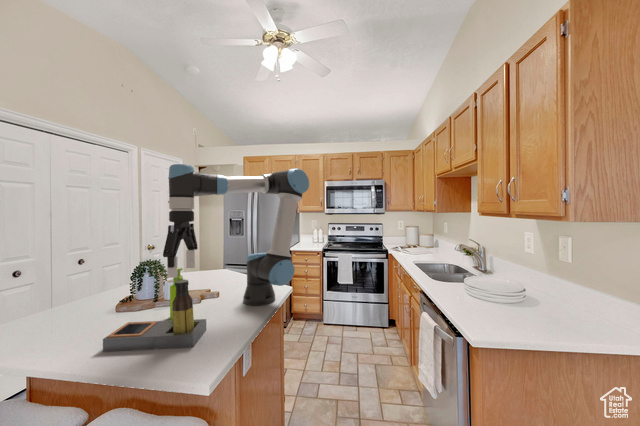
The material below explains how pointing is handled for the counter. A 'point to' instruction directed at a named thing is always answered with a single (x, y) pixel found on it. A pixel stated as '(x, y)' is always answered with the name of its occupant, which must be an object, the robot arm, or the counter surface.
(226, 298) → the counter surface
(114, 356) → the counter surface
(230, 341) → the counter surface
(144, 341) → the grey tray
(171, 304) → the soap dispenser
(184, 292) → the sauce bottle
